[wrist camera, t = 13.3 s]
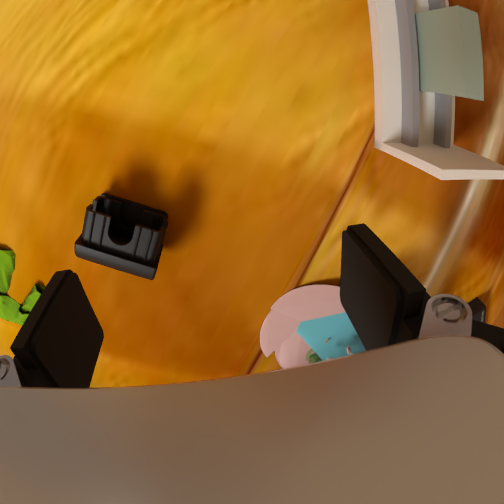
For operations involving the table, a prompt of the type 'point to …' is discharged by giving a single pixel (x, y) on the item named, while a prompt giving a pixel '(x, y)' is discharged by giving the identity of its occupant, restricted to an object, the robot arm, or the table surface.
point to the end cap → (122, 235)
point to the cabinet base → (415, 99)
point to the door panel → (450, 52)
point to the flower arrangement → (309, 327)
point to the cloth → (4, 306)
